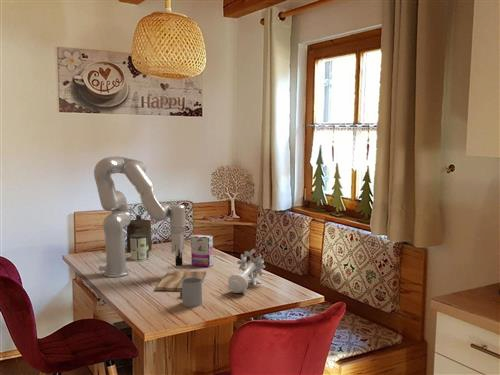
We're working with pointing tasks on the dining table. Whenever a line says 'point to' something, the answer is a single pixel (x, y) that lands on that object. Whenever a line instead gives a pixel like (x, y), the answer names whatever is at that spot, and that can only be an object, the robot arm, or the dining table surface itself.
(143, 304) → the dining table surface
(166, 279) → the plank
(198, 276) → the laid board
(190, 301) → the cup
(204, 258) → the candy bar box
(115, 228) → the robot arm
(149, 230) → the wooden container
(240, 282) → the flower vase
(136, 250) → the coffee can
